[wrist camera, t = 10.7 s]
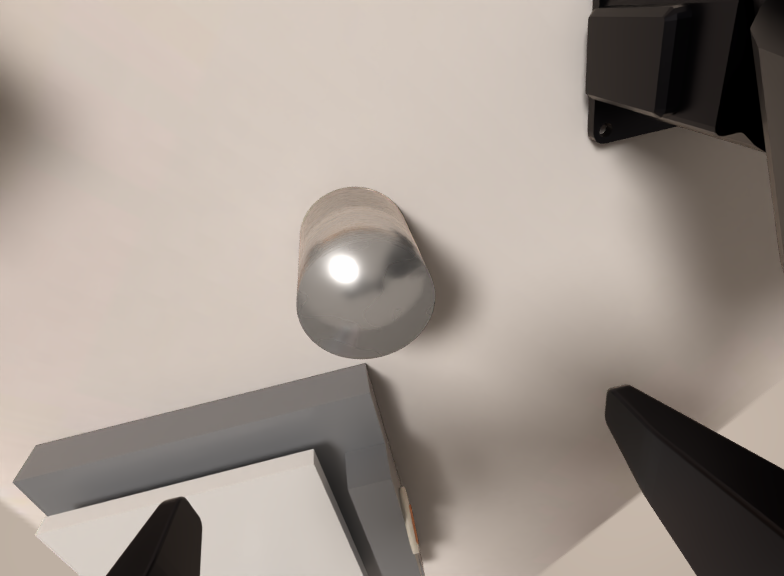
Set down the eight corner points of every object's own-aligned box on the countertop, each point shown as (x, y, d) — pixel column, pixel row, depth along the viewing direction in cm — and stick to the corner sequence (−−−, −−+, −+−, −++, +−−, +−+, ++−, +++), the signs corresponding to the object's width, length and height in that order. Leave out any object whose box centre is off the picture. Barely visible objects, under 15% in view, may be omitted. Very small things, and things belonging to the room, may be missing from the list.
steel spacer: (396, 175, 18) (424, 225, 13) (415, 271, 20) (443, 340, 16) (285, 201, 17) (277, 261, 13) (316, 295, 20) (318, 372, 16)
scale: (373, 361, 22) (386, 435, 18) (425, 547, 31) (441, 623, 27) (35, 445, 22) (-25, 540, 18) (187, 609, 31) (169, 696, 27)
